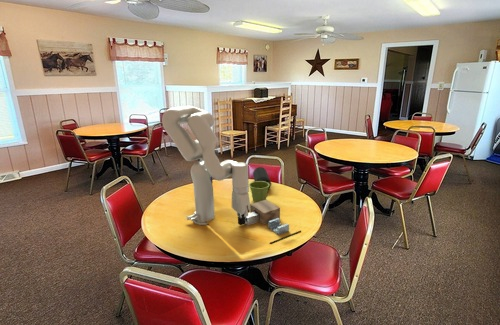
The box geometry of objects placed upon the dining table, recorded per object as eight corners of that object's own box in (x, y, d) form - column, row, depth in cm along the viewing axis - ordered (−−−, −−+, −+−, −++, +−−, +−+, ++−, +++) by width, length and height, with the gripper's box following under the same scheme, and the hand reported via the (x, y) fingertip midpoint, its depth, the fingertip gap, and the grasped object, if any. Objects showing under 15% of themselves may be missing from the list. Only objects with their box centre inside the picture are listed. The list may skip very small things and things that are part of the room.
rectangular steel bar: (247, 225, 140) (247, 218, 139) (243, 222, 143) (242, 215, 142) (276, 215, 149) (276, 208, 148) (271, 212, 153) (271, 205, 151)
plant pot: (269, 198, 174) (269, 181, 170) (269, 207, 162) (269, 188, 159) (250, 198, 175) (250, 180, 172) (248, 206, 164) (247, 188, 160)
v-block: (271, 244, 127) (271, 234, 125) (255, 232, 136) (255, 223, 135) (301, 232, 136) (301, 222, 135) (284, 221, 146) (284, 213, 144)
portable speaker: (271, 192, 183) (271, 178, 180) (255, 193, 182) (255, 178, 179) (266, 178, 207) (266, 165, 204) (252, 179, 206) (252, 166, 203)
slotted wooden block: (263, 227, 141) (263, 213, 139) (250, 218, 150) (250, 204, 148) (279, 221, 146) (280, 207, 144) (265, 212, 156) (265, 199, 153)
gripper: (225, 185, 139) (227, 219, 144) (242, 195, 127) (243, 232, 132) (239, 182, 143) (240, 215, 148) (256, 192, 131) (256, 228, 136)
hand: (241, 223), depth 140 cm, fingers closed
